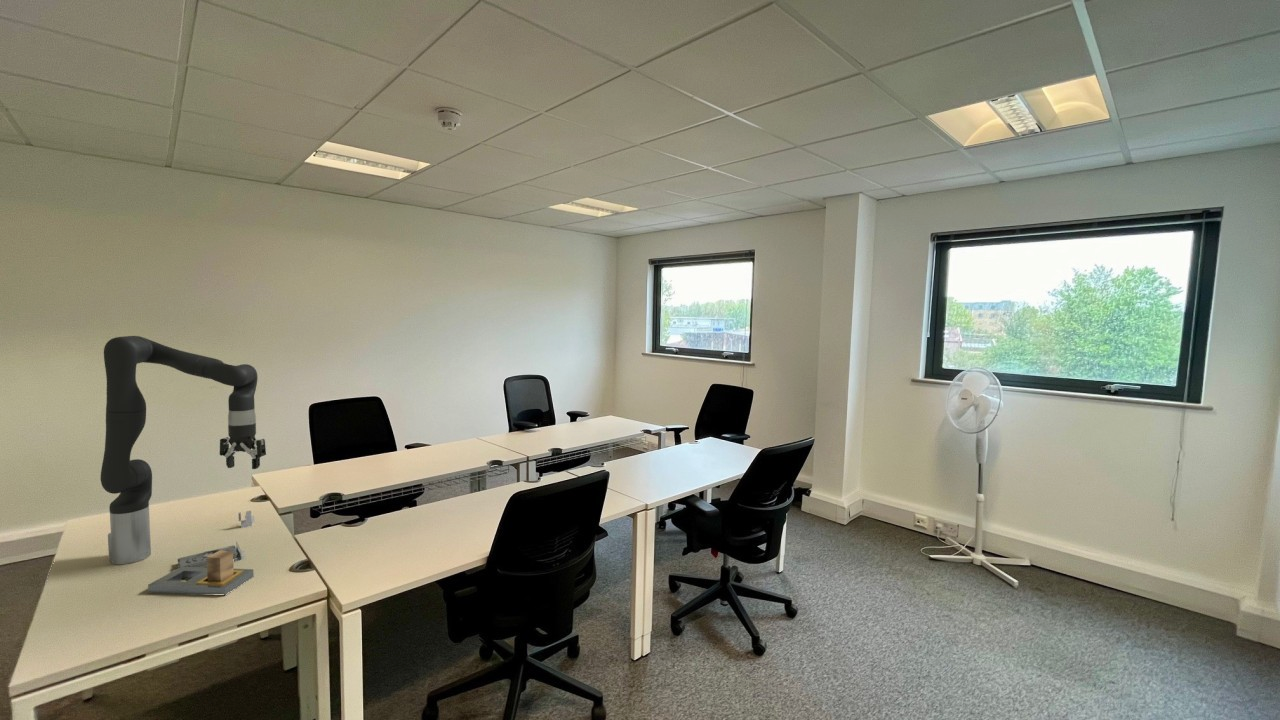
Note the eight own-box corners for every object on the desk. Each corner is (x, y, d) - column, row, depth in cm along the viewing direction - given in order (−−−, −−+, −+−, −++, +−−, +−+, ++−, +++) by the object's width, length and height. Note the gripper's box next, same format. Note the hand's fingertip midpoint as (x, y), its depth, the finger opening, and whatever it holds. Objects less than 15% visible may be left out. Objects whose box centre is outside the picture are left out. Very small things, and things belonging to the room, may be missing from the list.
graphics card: (240, 538, 180) (245, 550, 171) (240, 549, 180) (245, 560, 171) (176, 553, 168) (178, 566, 159) (176, 564, 168) (178, 577, 159)
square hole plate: (148, 592, 150) (147, 583, 149) (181, 574, 160) (181, 565, 160) (225, 595, 150) (225, 586, 149) (253, 576, 161) (253, 568, 160)
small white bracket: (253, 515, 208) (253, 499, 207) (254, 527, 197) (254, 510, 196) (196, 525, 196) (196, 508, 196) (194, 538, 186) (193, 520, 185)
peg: (207, 588, 153) (206, 557, 152) (221, 580, 158) (220, 550, 157) (221, 589, 153) (219, 558, 152) (233, 582, 157) (233, 551, 156)
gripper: (212, 423, 169) (213, 470, 171) (254, 425, 169) (255, 472, 171) (230, 419, 177) (231, 464, 178) (270, 420, 177) (271, 465, 178)
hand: (243, 468), depth 174 cm, fingers open, 8 cm apart
